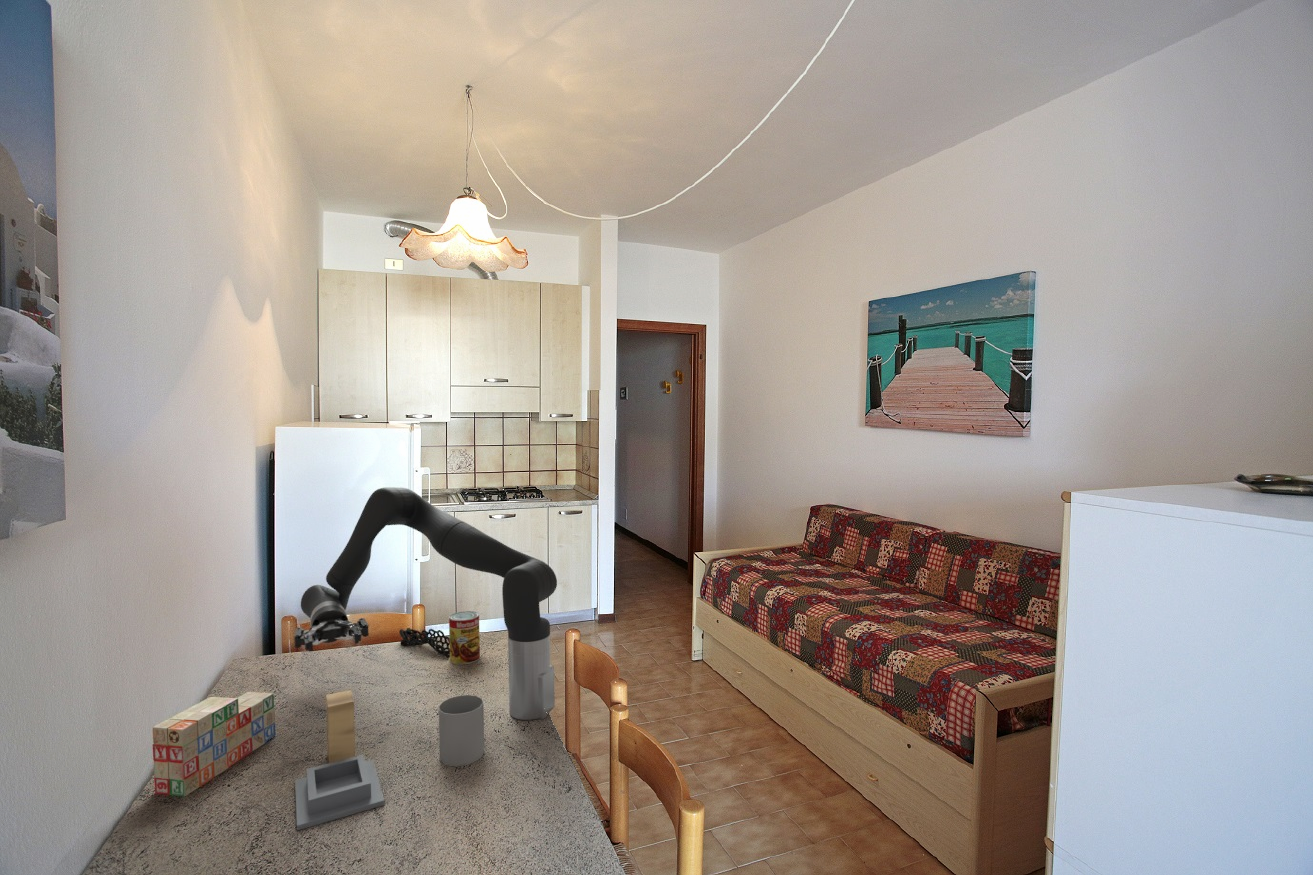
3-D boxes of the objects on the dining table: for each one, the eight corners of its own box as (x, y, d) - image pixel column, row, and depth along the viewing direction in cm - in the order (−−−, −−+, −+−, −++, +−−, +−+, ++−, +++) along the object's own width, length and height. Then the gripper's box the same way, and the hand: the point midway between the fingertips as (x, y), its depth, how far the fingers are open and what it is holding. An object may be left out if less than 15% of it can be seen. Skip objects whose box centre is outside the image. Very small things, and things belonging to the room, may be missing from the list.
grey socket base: (295, 784, 116) (294, 766, 115) (373, 763, 122) (372, 746, 122) (297, 830, 103) (296, 810, 102) (384, 804, 109) (383, 785, 109)
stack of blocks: (249, 734, 134) (248, 676, 134) (276, 736, 133) (274, 678, 133) (153, 794, 113) (151, 726, 113) (184, 797, 112) (181, 728, 111)
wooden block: (327, 754, 125) (326, 694, 125) (352, 748, 128) (350, 689, 127) (329, 769, 120) (327, 706, 120) (355, 762, 123) (353, 701, 122)
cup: (438, 748, 128) (437, 699, 127) (480, 739, 131) (479, 691, 130) (441, 770, 120) (440, 717, 119) (486, 760, 123) (485, 709, 123)
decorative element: (459, 654, 178) (459, 633, 178) (445, 660, 174) (444, 639, 174) (408, 640, 190) (408, 620, 190) (393, 645, 186) (393, 625, 186)
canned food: (463, 666, 169) (462, 621, 168) (443, 660, 173) (442, 616, 173) (486, 657, 176) (485, 613, 175) (466, 651, 180) (465, 609, 179)
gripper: (293, 609, 143) (294, 631, 129) (362, 600, 150) (371, 619, 136) (293, 642, 143) (295, 667, 129) (363, 631, 151) (371, 653, 137)
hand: (334, 642), depth 133 cm, fingers open, 8 cm apart
